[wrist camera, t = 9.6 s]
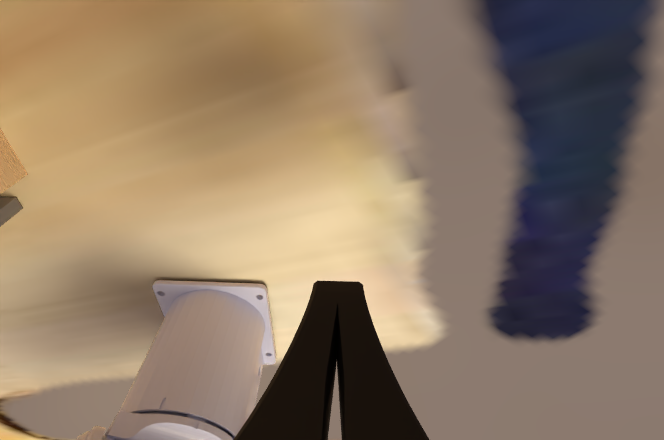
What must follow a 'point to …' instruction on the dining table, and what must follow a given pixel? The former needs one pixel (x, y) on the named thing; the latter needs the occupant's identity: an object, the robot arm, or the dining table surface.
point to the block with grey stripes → (9, 165)
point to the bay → (8, 208)
